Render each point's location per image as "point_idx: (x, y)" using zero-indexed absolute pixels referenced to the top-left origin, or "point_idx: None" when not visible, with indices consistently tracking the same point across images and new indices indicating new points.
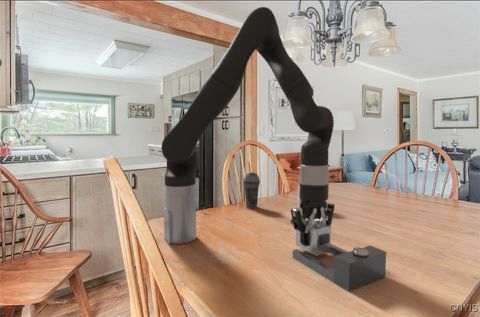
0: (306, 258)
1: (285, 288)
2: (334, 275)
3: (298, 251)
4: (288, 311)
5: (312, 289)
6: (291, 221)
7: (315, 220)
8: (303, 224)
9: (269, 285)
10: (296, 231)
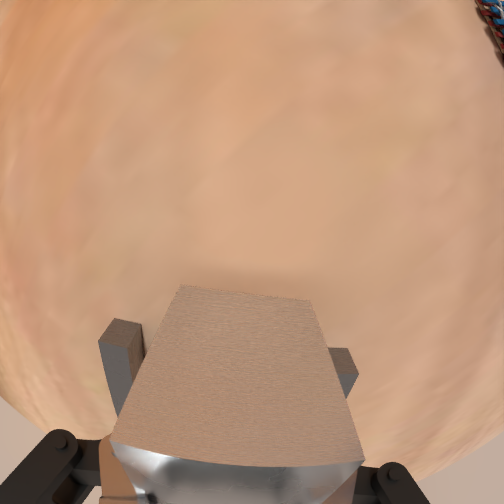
0: (116, 408)
1: (29, 391)
2: None
3: (116, 367)
4: (23, 415)
5: (80, 429)
6: (482, 1)
7: (318, 500)
8: (131, 487)
9: (3, 361)
10: (149, 354)
